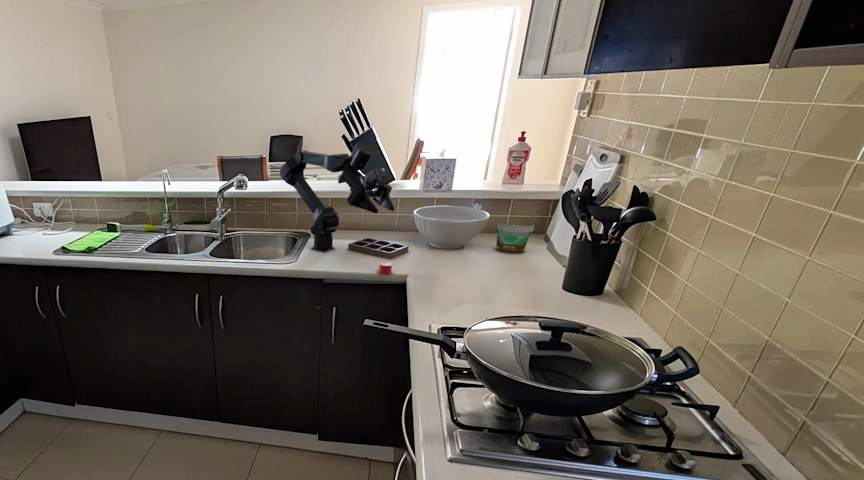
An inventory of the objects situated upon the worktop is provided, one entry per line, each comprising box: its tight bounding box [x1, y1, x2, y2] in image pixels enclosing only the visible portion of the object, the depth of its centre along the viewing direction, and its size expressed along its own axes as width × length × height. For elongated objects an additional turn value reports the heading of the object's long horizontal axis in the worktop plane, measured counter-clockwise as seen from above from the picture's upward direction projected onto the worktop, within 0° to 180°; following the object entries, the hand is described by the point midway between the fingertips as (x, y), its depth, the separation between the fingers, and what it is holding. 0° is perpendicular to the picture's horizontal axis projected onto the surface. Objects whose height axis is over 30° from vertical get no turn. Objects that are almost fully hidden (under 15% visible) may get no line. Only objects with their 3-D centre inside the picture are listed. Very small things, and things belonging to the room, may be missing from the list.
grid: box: [347, 237, 410, 260], centre depth 190 cm, size 18×12×2 cm
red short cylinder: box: [378, 261, 393, 275], centre depth 167 cm, size 4×4×3 cm
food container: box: [495, 221, 535, 255], centre depth 181 cm, size 12×6×10 cm, turn 68°
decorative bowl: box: [413, 205, 490, 250], centre depth 192 cm, size 27×27×12 cm
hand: (385, 211), depth 166 cm, fingers open, 9 cm apart
